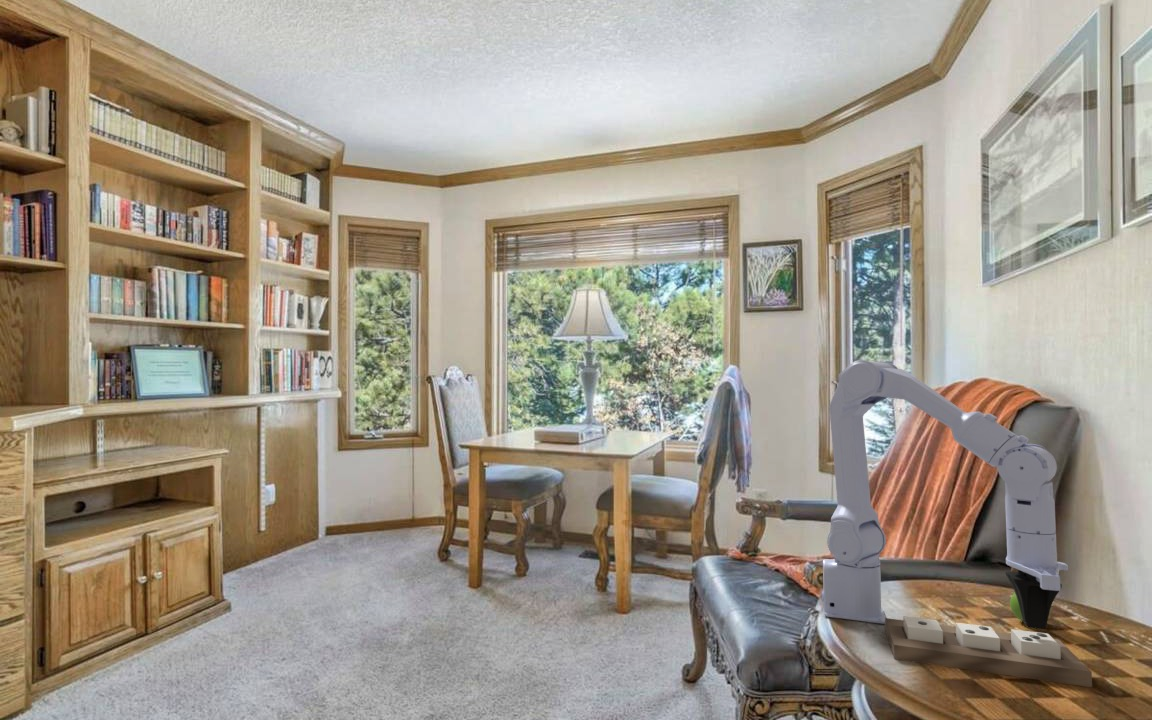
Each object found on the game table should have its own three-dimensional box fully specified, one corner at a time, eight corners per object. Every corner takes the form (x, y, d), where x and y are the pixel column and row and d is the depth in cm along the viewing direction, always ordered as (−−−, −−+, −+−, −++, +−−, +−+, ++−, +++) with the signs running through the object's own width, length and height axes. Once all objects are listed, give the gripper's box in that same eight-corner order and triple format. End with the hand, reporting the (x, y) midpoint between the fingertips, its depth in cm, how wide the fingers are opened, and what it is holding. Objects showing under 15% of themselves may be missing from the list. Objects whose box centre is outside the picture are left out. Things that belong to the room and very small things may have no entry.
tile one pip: (908, 644, 89) (907, 626, 89) (903, 632, 93) (903, 615, 93) (943, 648, 87) (942, 630, 87) (937, 636, 91) (936, 619, 92)
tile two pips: (963, 651, 86) (962, 633, 86) (956, 639, 90) (955, 621, 91) (1000, 656, 85) (999, 637, 85) (991, 643, 89) (990, 626, 89)
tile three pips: (1021, 659, 84) (1020, 640, 84) (1011, 646, 88) (1010, 628, 88) (1061, 664, 82) (1060, 645, 82) (1048, 651, 86) (1048, 633, 86)
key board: (894, 658, 87) (894, 644, 87) (885, 630, 97) (885, 618, 97) (1092, 687, 78) (1091, 671, 78) (1059, 653, 88) (1058, 639, 89)
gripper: (1086, 544, 78) (1092, 651, 77) (1045, 522, 91) (1049, 613, 91) (1021, 539, 80) (1026, 643, 80) (991, 518, 94) (994, 607, 93)
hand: (1034, 627), depth 85 cm, fingers closed
